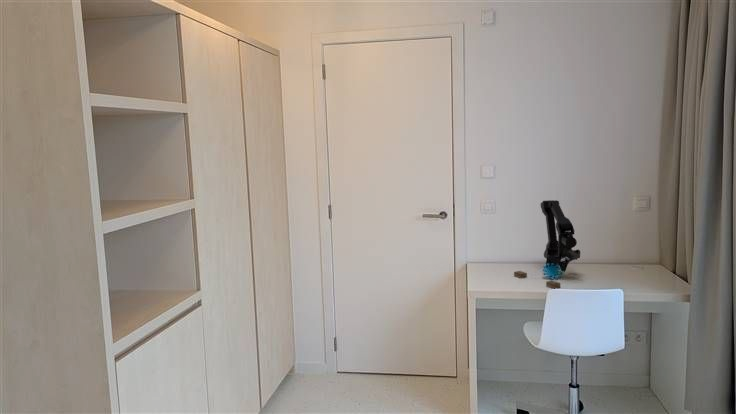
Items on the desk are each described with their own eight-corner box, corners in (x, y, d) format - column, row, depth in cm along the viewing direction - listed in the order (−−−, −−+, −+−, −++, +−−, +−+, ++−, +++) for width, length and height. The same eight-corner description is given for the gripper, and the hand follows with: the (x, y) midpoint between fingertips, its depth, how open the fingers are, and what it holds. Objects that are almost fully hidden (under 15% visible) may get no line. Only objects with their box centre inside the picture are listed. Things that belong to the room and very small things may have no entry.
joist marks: (519, 275, 299) (519, 270, 299) (560, 287, 274) (560, 282, 273) (514, 276, 298) (514, 271, 297) (554, 289, 272) (554, 284, 272)
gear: (542, 276, 288) (543, 260, 294) (540, 282, 293) (541, 266, 299) (564, 280, 286) (564, 264, 292) (561, 285, 291) (562, 269, 297)
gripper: (562, 248, 281) (562, 278, 283) (588, 244, 289) (587, 273, 291) (546, 245, 291) (546, 273, 293) (571, 241, 299) (571, 268, 301)
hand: (563, 272), depth 294 cm, fingers closed
